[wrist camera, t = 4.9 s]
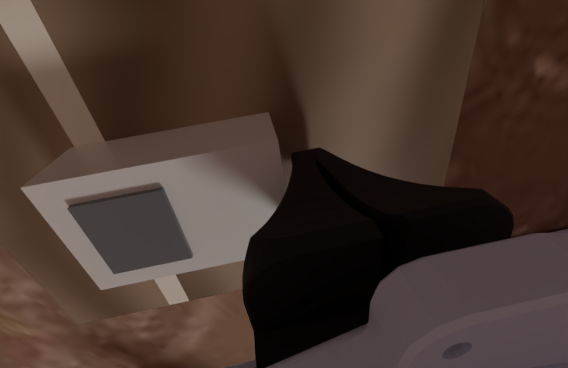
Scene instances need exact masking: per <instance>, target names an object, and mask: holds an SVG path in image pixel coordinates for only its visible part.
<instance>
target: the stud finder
mask: <svg viewBox="0 0 568 368" xmlns="http://www.w3.org/2000/svg"><path fill="white" fill-rule="evenodd" d="M21 190H22V191H23V192H24V193H25V195H26V196H27V197H28V198H29V200H30V201H31V202H32V203H33V205H34V206H35V207H36V209H37V210H38V211H39V212H40V214H41V215H42V216H43V217H44V219H45V220H46V221H47V222H48V224H49V225H50V226H51V228H52V229H53V230H54V231H55V233H56V234H57V235H58V236H59V238H60V239H61V240H62V241H63V243H64V244H65V245H66V247H67V248H68V249H69V250H70V252H71V253H72V254H73V255H74V257H75V258H76V259H77V260H78V262H79V263H80V264H81V266H82V267H83V268H84V269H85V271H86V272H87V273H88V274H89V276H90V277H91V278H92V279H93V281H94V282H95V283H96V285H97V286H98V287H99V288H100V290H104V289H109V288H114V287H119V286H124V285H128V284H133V283H138V282H143V281H147V280H152V279H157V278H162V277H167V276H171V275H176V274H181V273H186V272H190V271H195V270H200V269H205V268H210V267H214V266H219V265H224V264H229V263H233V262H238V261H243V260H245V256H246V251H247V247H248V244H249V240H250V238H251V236H253V235H254V234H255V233H256V232H257V231H258V230H259V229H260V228H261V227H262V226H263V225H264V224H265V223H266V222H267V221H268V220H269V218H270V217H271V216H272V214H273V213H274V212H275V210H276V209H277V207H278V206H279V204H280V202H281V200H282V198H283V196H284V194H285V192H286V188H285V181H284V175H283V169H282V162H281V156H280V150H279V143H278V138H277V136H276V133H275V130H274V127H273V124H272V121H271V118H270V115H269V112H265V113H260V114H254V115H249V116H243V117H238V118H232V119H227V120H221V121H215V122H210V123H204V124H199V125H193V126H188V127H182V128H177V129H171V130H165V131H160V132H154V133H149V134H143V135H138V136H132V137H127V138H121V139H115V140H110V141H104V142H99V143H93V144H88V145H82V146H76V147H71V148H69V149H68V150H67V151H65V152H64V153H63V154H62V155H60V156H59V157H58V158H57V159H55V160H54V161H53V162H52V163H50V164H49V165H48V166H47V167H45V168H44V169H43V170H42V171H40V172H39V173H38V174H37V175H36V176H34V177H33V178H32V179H31V180H29V181H28V182H27V183H26V184H24V185H23V186H22V187H21Z"/></svg>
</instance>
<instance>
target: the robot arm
mask: <svg viewBox="0 0 568 368" xmlns="http://www.w3.org/2000/svg"><path fill="white" fill-rule="evenodd" d="M291 161H292V171H291V176H290V180H289V183H288V187H287V189H286V192H285V194H284V196H283V198H282V200H281V202H280V204H279V206H278V207H277V209H276V210H275V212H274V213H273V214H272V216H271V217H270V218H269V220H268V221H267V222H266V223H265V224H264V225H263V226H262V227H261V228H260V229H259V230H258V231H257V232H256V233H255V234H254V235H253V236H251V238H250V240H249V244H248V247H247V251H246V256H245V260H244V266H243V275H242V288H243V300H244V305H245V308H246V311H247V313H248V316H249V319H250V322H251V325H252V328H253V331H254V338H255V355H256V360H254V361H250V362H246V363H241V364H237V365H232V366H228V367H224V368H568V229H565V230H560V231H556V232H551V233H532V234H527V235H523V236H518V237H513V238H510V236H511V233H512V229H513V225H514V222H513V215H512V213H511V211H510V210H509V208H508V207H506V206H505V205H504V204H502V203H501V202H499V201H498V200H497V199H495V198H494V197H492V196H491V195H490V194H488V193H487V192H485V191H484V190H483V189H471V188H455V187H442V186H434V185H426V184H420V183H414V182H409V181H404V180H399V179H395V178H391V177H387V176H384V175H381V174H378V173H374V172H372V171H369V170H366V169H364V168H361V167H359V166H356V165H354V164H352V163H350V162H348V161H346V160H344V159H342V158H340V157H338V156H336V155H334V154H332V153H330V152H328V151H326V150H324V149H322V148H320V147H319V148H314V149H308V150H303V151H298V152H293V153H292V154H291Z"/></svg>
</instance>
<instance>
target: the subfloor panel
mask: <svg viewBox="0 0 568 368" xmlns="http://www.w3.org/2000/svg"><path fill="white" fill-rule="evenodd" d="M484 2H485V0H0V244H1V245H2V246H3V247H4V248H5V249H6V250H7V251H8V252H9V253H10V254H11V255H12V256H13V257H14V258H15V259H16V260H17V261H18V263H19V264H20V265H21V266H22V267H23V268H24V269H25V270H26V271H27V272H28V273H29V274H30V275H31V276H32V277H33V278H34V279H35V280H36V281H37V282H38V283H39V284H40V285H41V286H42V287H43V288H44V289H45V291H46V292H47V293H48V294H49V295H50V296H51V297H52V298H53V299H54V300H55V301H56V302H57V303H58V304H59V305H60V306H61V307H62V308H63V309H64V310H65V311H66V312H67V313H68V314H69V315H70V316H71V317H72V318H73V320H74V321H75V322H76V323H77V324H83V323H88V322H92V321H97V320H102V319H106V318H111V317H116V316H120V315H125V314H129V313H134V312H139V311H143V310H148V309H153V308H157V307H162V306H167V305H171V304H176V303H181V302H185V301H190V300H195V299H199V298H204V297H208V296H213V295H218V294H222V293H227V292H232V291H236V290H241V289H243V288H242V275H243V266H244V260H243V261H238V262H233V263H229V264H224V265H219V266H214V267H210V268H205V269H200V270H195V271H190V272H186V273H181V274H176V275H171V276H167V277H162V278H157V279H152V280H147V281H143V282H138V283H133V284H128V285H124V286H119V287H114V288H109V289H104V290H100V288H99V287H98V286H97V285H96V283H95V282H94V281H93V279H92V278H91V277H90V276H89V274H88V273H87V272H86V271H85V269H84V268H83V267H82V266H81V264H80V263H79V262H78V260H77V259H76V258H75V257H74V255H73V254H72V253H71V252H70V250H69V249H68V248H67V247H66V245H65V244H64V243H63V241H62V240H61V239H60V238H59V236H58V235H57V234H56V233H55V231H54V230H53V229H52V228H51V226H50V225H49V224H48V222H47V221H46V220H45V219H44V217H43V216H42V215H41V214H40V212H39V211H38V210H37V209H36V207H35V206H34V205H33V203H32V202H31V201H30V200H29V198H28V197H27V196H26V195H25V193H24V192H23V191H22V190H21V187H22V186H23V185H24V184H26V183H27V182H28V181H29V180H31V179H32V178H33V177H34V176H36V175H37V174H38V173H39V172H40V171H42V170H43V169H44V168H45V167H47V166H48V165H49V164H50V163H52V162H53V161H54V160H55V159H57V158H58V157H59V156H60V155H62V154H63V153H64V152H65V151H67V150H68V149H69V148H71V147H76V146H82V145H88V144H93V143H99V142H104V141H110V140H115V139H121V138H127V137H132V136H138V135H143V134H149V133H154V132H160V131H165V130H171V129H177V128H182V127H188V126H193V125H199V124H204V123H210V122H215V121H221V120H227V119H232V118H238V117H243V116H249V115H254V114H260V113H265V112H269V115H270V118H271V121H272V124H273V127H274V130H275V133H276V136H277V138H278V143H279V150H280V156H281V162H282V169H283V175H284V181H285V188H286V189H287V187H288V183H289V180H290V176H291V171H292V161H291V154H292V153H293V152H298V151H303V150H308V149H314V148H319V147H320V148H322V149H324V150H326V151H328V152H330V153H332V154H334V155H336V156H338V157H340V158H342V159H344V160H346V161H348V162H350V163H352V164H354V165H356V166H359V167H361V168H364V169H366V170H369V171H372V172H374V173H378V174H381V175H384V176H387V177H391V178H395V179H399V180H404V181H409V182H414V183H420V184H426V185H434V186H442V187H444V185H445V180H446V176H447V171H448V167H449V162H450V157H451V153H452V148H453V144H454V139H455V135H456V130H457V125H458V121H459V116H460V112H461V107H462V103H463V98H464V94H465V89H466V84H467V80H468V75H469V71H470V66H471V62H472V57H473V52H474V48H475V43H476V39H477V34H478V30H479V25H480V21H481V16H482V11H483V7H484Z"/></svg>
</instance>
